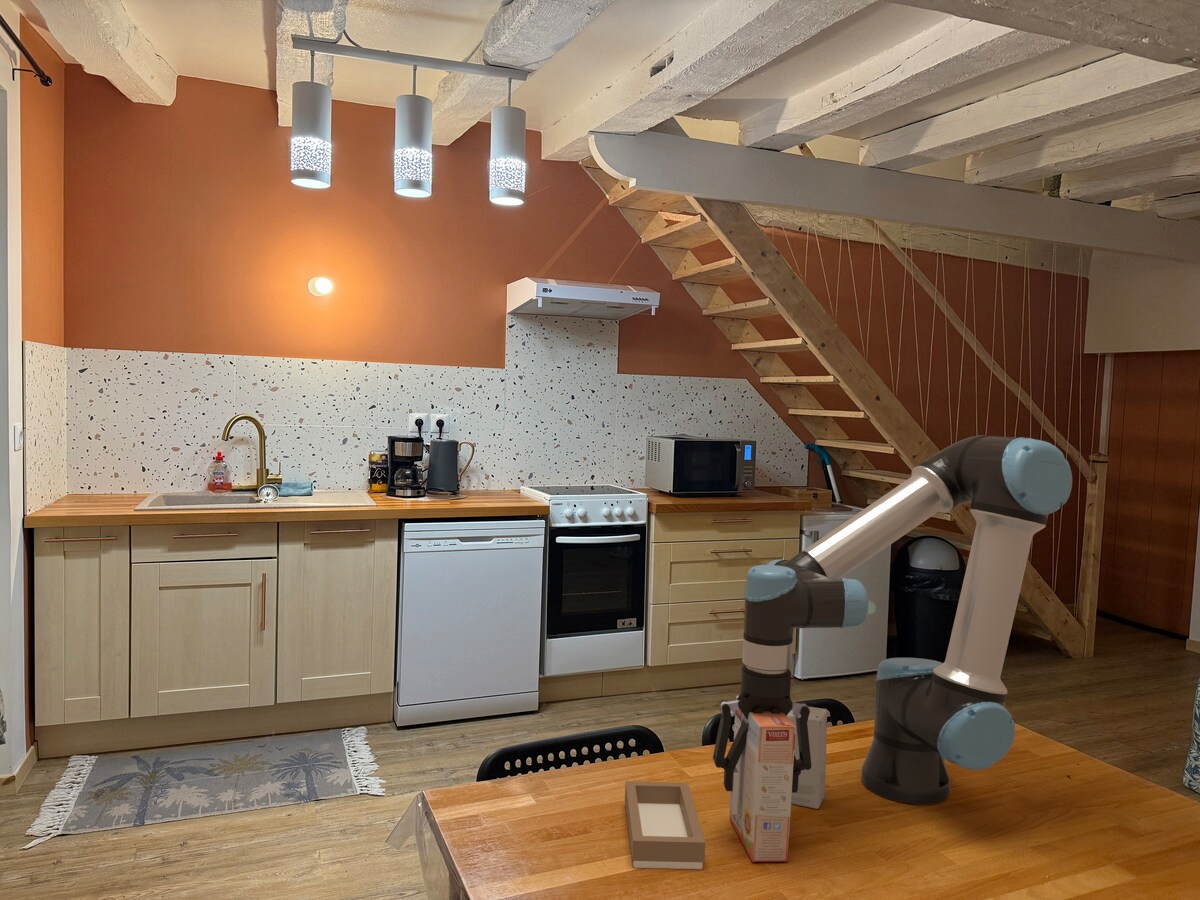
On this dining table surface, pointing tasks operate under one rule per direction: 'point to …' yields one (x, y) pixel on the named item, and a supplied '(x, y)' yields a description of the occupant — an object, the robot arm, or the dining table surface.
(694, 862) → the tray
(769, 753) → the cracker box
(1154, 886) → the dining table surface
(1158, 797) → the dining table surface
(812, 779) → the skincare box
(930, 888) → the dining table surface
